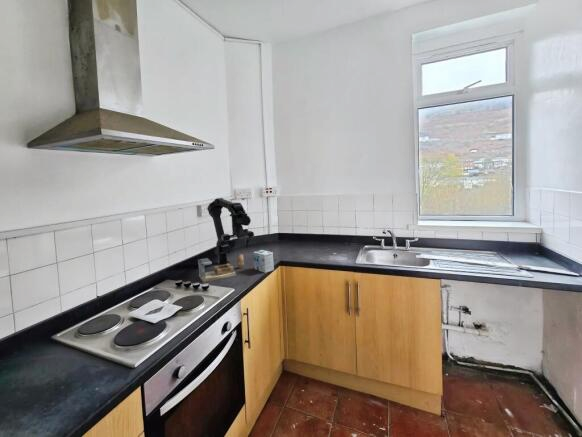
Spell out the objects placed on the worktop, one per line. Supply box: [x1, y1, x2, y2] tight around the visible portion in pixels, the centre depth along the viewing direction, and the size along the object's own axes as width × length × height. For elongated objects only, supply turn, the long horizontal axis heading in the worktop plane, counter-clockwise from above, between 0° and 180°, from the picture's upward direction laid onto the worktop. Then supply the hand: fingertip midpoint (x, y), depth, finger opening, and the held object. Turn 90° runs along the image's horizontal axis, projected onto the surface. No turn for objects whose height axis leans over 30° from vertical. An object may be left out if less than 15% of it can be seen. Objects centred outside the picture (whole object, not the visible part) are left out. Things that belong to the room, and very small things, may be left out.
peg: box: [237, 253, 245, 270], centre depth 171 cm, size 4×4×8 cm
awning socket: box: [197, 257, 237, 283], centre depth 158 cm, size 12×18×10 cm, turn 119°
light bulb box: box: [253, 249, 275, 274], centre depth 164 cm, size 11×7×11 cm, turn 45°
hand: (238, 249), depth 169 cm, fingers open, 9 cm apart
